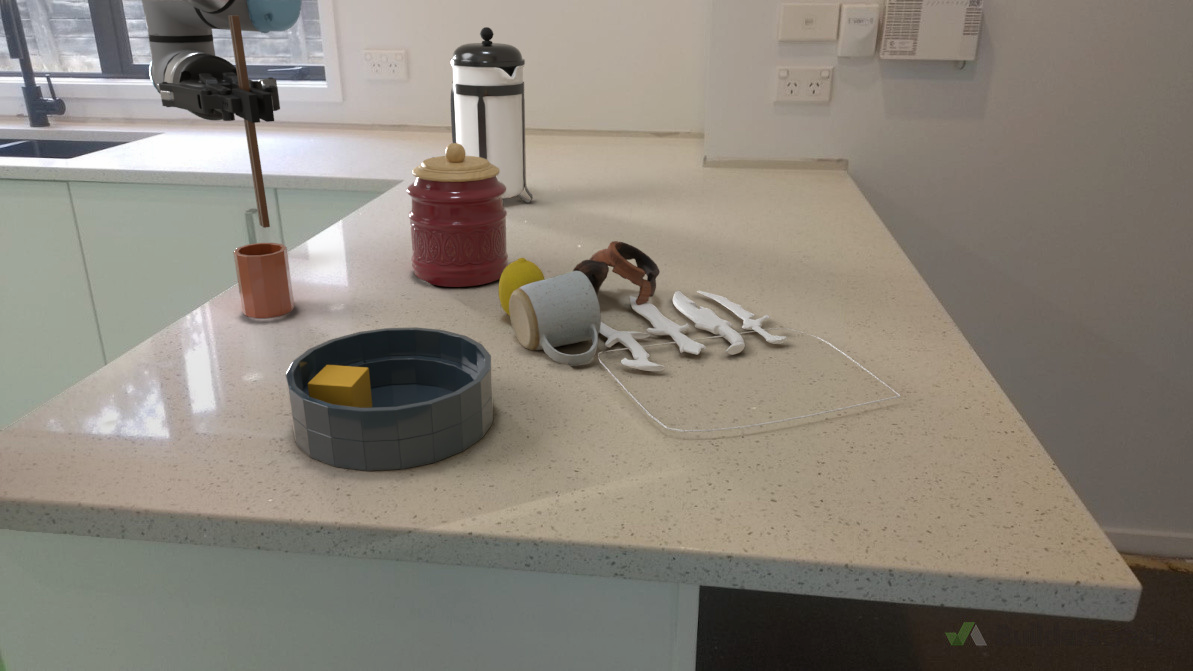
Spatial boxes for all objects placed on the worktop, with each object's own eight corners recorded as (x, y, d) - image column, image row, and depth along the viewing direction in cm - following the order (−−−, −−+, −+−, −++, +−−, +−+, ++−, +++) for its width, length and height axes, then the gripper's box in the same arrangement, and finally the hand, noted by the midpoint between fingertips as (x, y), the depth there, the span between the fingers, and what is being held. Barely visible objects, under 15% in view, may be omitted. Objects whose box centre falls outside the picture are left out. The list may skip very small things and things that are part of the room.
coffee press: (542, 192, 161) (541, 26, 149) (521, 213, 146) (517, 30, 135) (456, 188, 163) (447, 24, 152) (426, 207, 149) (415, 27, 137)
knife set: (735, 288, 111) (736, 280, 110) (914, 403, 80) (916, 392, 80) (549, 309, 102) (549, 300, 102) (670, 446, 72) (671, 435, 72)
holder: (238, 323, 97) (227, 256, 94) (251, 306, 102) (241, 242, 99) (288, 322, 98) (279, 256, 94) (298, 305, 103) (290, 242, 100)
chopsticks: (263, 228, 93) (232, 15, 85) (259, 225, 94) (227, 15, 86) (270, 227, 93) (239, 15, 85) (266, 224, 94) (235, 15, 86)
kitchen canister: (507, 288, 109) (503, 152, 103) (406, 289, 109) (396, 152, 102) (509, 259, 121) (506, 135, 115) (419, 259, 120) (410, 134, 114)
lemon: (502, 333, 95) (500, 266, 92) (497, 316, 100) (495, 251, 97) (550, 330, 96) (549, 264, 93) (543, 313, 101) (542, 249, 98)
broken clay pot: (601, 287, 112) (632, 237, 109) (646, 332, 108) (680, 281, 104) (540, 284, 103) (573, 229, 100) (587, 333, 98) (622, 277, 95)
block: (312, 424, 74) (307, 383, 72) (331, 403, 77) (326, 364, 76) (356, 427, 73) (351, 386, 72) (372, 406, 77) (369, 367, 76)
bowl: (273, 481, 66) (263, 414, 64) (316, 386, 82) (309, 329, 80) (492, 472, 68) (490, 406, 66) (493, 380, 84) (491, 325, 82)
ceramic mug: (507, 339, 94) (502, 274, 91) (572, 324, 97) (570, 262, 94) (548, 376, 85) (545, 306, 82) (618, 358, 89) (617, 290, 86)
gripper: (267, 113, 107) (332, 140, 90) (149, 121, 100) (195, 152, 82) (259, 51, 104) (324, 66, 87) (136, 54, 97) (181, 72, 79)
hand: (261, 108), depth 85 cm, fingers closed on chopsticks, 1 cm apart
